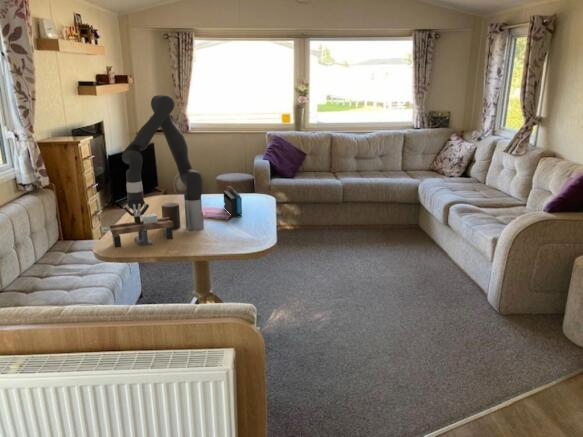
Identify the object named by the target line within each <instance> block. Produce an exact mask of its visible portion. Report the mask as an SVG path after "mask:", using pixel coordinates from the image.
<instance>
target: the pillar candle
mask: <svg viewBox="0 0 583 437" xmlns="http://www.w3.org/2000/svg"><path fill="white" fill-rule="evenodd" d="M180 215H181V214H180V203H179V202H165V203H162V204H161V216H162V217H161V218H167V217H169V219H170V221H173V227H172V231H175V230H179V229H180V228H181V216H180ZM162 229H163V230H164V228H162Z"/></svg>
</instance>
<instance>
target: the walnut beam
mask: <svg viewBox="0 0 583 437" xmlns="http://www.w3.org/2000/svg"><path fill="white" fill-rule="evenodd" d="M157 220H158V223H154V224H147V225H142V220H141V222H139V223H138V224H136V223H135V221H131V222H124V223H117V224H109V231H110V233H111V235H112V234H113V235H125V234H132V233H138V232H140V231H142V228H141V227H147V231H153V230H160V229H163V228H168V227H173V221H170V219H169V217H167V218H162V217H160V218H157Z"/></svg>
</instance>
